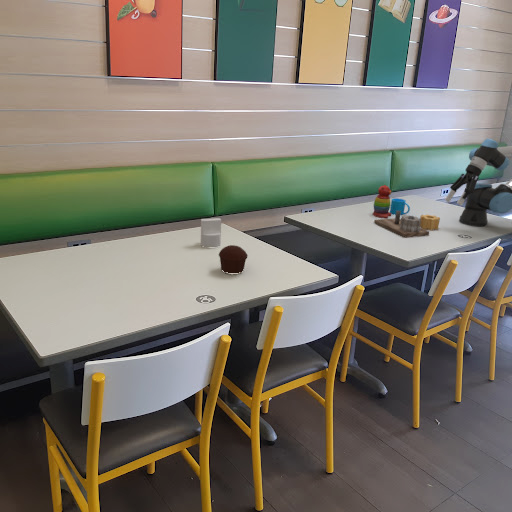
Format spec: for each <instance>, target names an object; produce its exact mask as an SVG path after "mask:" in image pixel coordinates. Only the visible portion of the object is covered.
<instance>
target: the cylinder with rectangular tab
mask: <svg viewBox="0 0 512 512" xmlns="http://www.w3.org/2000/svg"><path fill="white" fill-rule="evenodd" d="M221 237H222V218H220V217H216V218H215V217H214V218H201V219H200V246H201V245H202V246H204V247H203V248H205V247H217V246H220V247H221V243H222V242H221V240H222V239H221ZM202 246H201V247H202ZM217 248H218V247H217Z"/></svg>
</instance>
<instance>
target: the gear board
mask: <svg viewBox="0 0 512 512" xmlns="http://www.w3.org/2000/svg"><path fill="white" fill-rule="evenodd" d="M400 214H401V211H396V215H395V218H387V219H384V218H380V219H374V221H373V224H374V223H375V224H374V225H376V226H379V227H381V228H383V229H384V230H387V231H389V230H390V231H389V232H391V231H392V232H391V233H393V232H394V233H393V234H395V233H396V234H395V235H397V234H398V235H397V236H399V235H400V236H399V237H401V236H402V238H403V237H405V238H413V236H417V237H426V236H425V235H428V236H430V230H427V229H423V228H420V225H421V219H420V218H419V217H418V216H413V215H400Z"/></svg>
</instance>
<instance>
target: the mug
mask: <svg viewBox="0 0 512 512" xmlns="http://www.w3.org/2000/svg"><path fill="white" fill-rule="evenodd" d="M406 206H407V211H406V212H405V207H406ZM410 210H411V208H410V205H409V204H408V203H407V202H406V200H405V199H403V198H391V200H390V209H389V212H390V213H391V214H392V215H394V214H395V216H396V211H401V214H400V216H404V215H407V214H409V213H410Z"/></svg>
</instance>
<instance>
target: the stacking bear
mask: <svg viewBox="0 0 512 512" xmlns="http://www.w3.org/2000/svg"><path fill="white" fill-rule="evenodd" d="M391 194H392V190H391V189H390V187H389V186H387V185H386V184H384V185H381V186H379V187H378V195H376V197H375V199H374V201H373V212H372V216H374V217H375V218H380V219H389V217H392V216H393V214H391V213H390V207H391V197H390V195H391Z"/></svg>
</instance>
